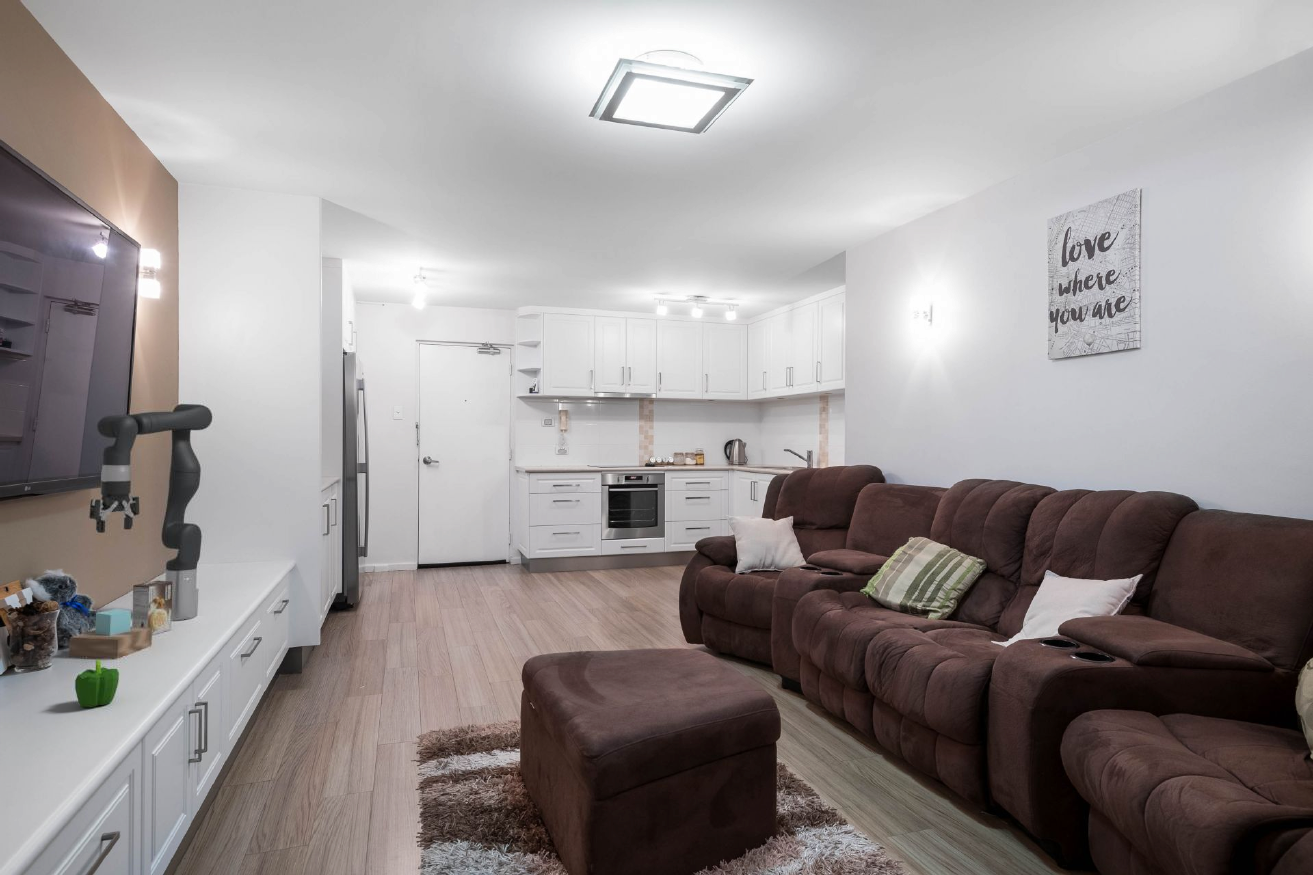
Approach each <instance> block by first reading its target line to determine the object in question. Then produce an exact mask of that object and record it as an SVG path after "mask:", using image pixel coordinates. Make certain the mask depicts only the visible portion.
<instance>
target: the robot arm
mask: <svg viewBox="0 0 1313 875" xmlns="http://www.w3.org/2000/svg"><path fill="white" fill-rule="evenodd" d="M212 421H213V413H212V411H211V409H210V408H209V407H208V406H205V405H202V404H193V403H189V404H188V403H180V404H177V405H176V406H175V407H174V409H173V411H151V412H150V411H147V412H140V413H135V414H111V415H106V416H104V417H102V418H100V419H99V421H98V422H97V425H96V429H97V431H98V433H99V434H100V435H101V436H102V437H104V438H108V439H115V440H114V444H112V445H108V446H105V447H104V448H103V452H102V468H101V475H100V476H101V478H100V479H101V480H100V494H101V499H99V498H92V499H91V500H90V505H89V506H90V508H89V516H88V518H89V519H91V520H95V525H96V526H95V527H96V528H95V530H96V531H97V533H99V534H104V533H105V532H106V520H105V519H106V518H107V517H108V516H109V515H110V514H111V513H116V512H119V513H121V514H122V515H123V516H124V519H123V530H132V528H133V526H134V525H133V524H134V523H133V520H134V517H135V516H139V515H140V497H139V496H134V495H133V496H130V494H131V488H132V486H131V485H132V484H131V482H132V481H131V480H132V468H131V459H132V458H131V453H132V450H133V447H134V444H135V441H136V438H137V436H140V435H149V434H156V433H161V432H168V431H171V454H170V455H171V456H170V458H171V459H170V468H169V477H168V478H169V479H168V493H167V500H166V502H167V503H166V508H165V514H164V520H163V525H162V529H161V542H162V544H163V546H164V547H165V548H166V549H172V550H177V554H176V555H177V556H176V557H175V558H172V559H169V560H167V561H166V562H165V580H164V581H172V582H173V583H172V619H171V621H183V620H184V619H185V620H190V619H193V618H195V617H197V616H198V613H199V612H198V609H199V588H197V572H198V570H197V569H198V563H199V560H200V556H201V548H202V547H201V546H202V539H203V538H202V537H203V536H202V529H201V527H199V525H197V524H195V523H189V522H188V523H187V522H185V514H186V511H187V510H186V509H187V507H188V505H189V503H190V502H191V500H192V499H193V498H194V496H195V494H196V493H197V492H198V490H199V487H200V484H201V471H202V469H201V464H200V461H199V460H198V458H197V455H196V454H195V452H194V449H193V447H192V445H191V444H192V443H191V432H192V431H202V430H205V429H207V428H209V427H210V425H211V424H212Z"/></svg>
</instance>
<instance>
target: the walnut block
mask: <svg viewBox="0 0 1313 875" xmlns="http://www.w3.org/2000/svg"><path fill="white" fill-rule="evenodd" d="M152 639H153V635H152V628H146V627H132V626H130V631H129V632H124V633H120V634H116V635H111V636H108V635H101V634H95V629H93V630H91V631H86V632H84V633H80V634H77V635H74V636H71V637H69V647H68V650H69V652H68V658H71V657H80V658H79V659H97V658H117V659H116V660H119V659H122V658H124V657H123V656H125V657H127V656H129V654H130V655H132V654H134V653H137V652H140V651H142V649H143V650H145V649H148V648H150V647H152ZM82 657H84V658H82ZM86 657H87V658H86ZM121 657H122V658H121ZM118 658H119V659H118Z"/></svg>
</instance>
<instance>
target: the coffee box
mask: <svg viewBox="0 0 1313 875" xmlns="http://www.w3.org/2000/svg"><path fill="white" fill-rule="evenodd" d="M172 583H173V582H172V581H165V580H153V581H147V582H142V583H138V584H133V585H132V586H133V587H132V589H133V590H132V592H133V593H132V614H131V618H132V619H131V621H132V624H131V627H146V628H152V636H154V635H158V634H161V633H164V632H168V631H171V630H172V620H171V619H172Z"/></svg>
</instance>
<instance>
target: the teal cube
mask: <svg viewBox="0 0 1313 875" xmlns="http://www.w3.org/2000/svg"><path fill="white" fill-rule="evenodd" d="M131 618H132V611H131V610H127V609H120V608H114V609H110V610H104V611H101V612H95V625H94V626H95V627H94V630H95V634H101V635H108V636H111V635H116V634H120V633H124V632H129V631H130V627H131V621H132V619H131Z"/></svg>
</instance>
